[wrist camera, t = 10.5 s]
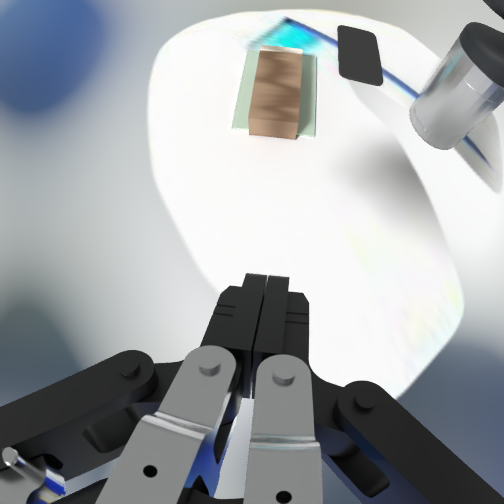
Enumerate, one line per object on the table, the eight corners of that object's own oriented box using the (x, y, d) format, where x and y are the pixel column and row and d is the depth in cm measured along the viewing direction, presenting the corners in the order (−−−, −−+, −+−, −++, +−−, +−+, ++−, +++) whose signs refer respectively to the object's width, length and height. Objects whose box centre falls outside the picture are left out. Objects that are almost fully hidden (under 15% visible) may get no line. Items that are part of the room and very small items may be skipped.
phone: (375, 33, 40) (384, 85, 38) (374, 36, 41) (382, 88, 38) (337, 24, 40) (339, 74, 38) (336, 27, 41) (338, 78, 39)
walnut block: (295, 139, 37) (300, 66, 39) (298, 123, 33) (302, 49, 35) (249, 134, 37) (261, 62, 39) (247, 118, 33) (260, 45, 35)
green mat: (316, 58, 39) (316, 57, 39) (314, 137, 37) (314, 136, 37) (247, 51, 40) (247, 50, 39) (231, 128, 37) (231, 127, 37)
